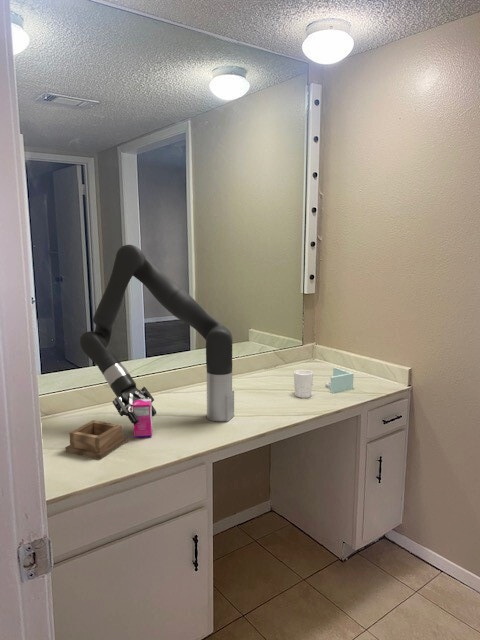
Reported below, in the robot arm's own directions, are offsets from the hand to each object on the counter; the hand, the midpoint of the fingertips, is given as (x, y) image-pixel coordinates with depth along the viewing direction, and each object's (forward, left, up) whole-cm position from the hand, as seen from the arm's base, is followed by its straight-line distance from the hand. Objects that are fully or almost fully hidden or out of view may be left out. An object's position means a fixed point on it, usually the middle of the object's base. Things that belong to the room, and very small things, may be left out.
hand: (145, 419), depth 160 cm
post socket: (+9, +14, -6) cm, 18 cm away
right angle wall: (-47, -76, -7) cm, 90 cm away
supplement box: (+1, 0, -6) cm, 6 cm away
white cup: (-38, -60, -6) cm, 71 cm away
